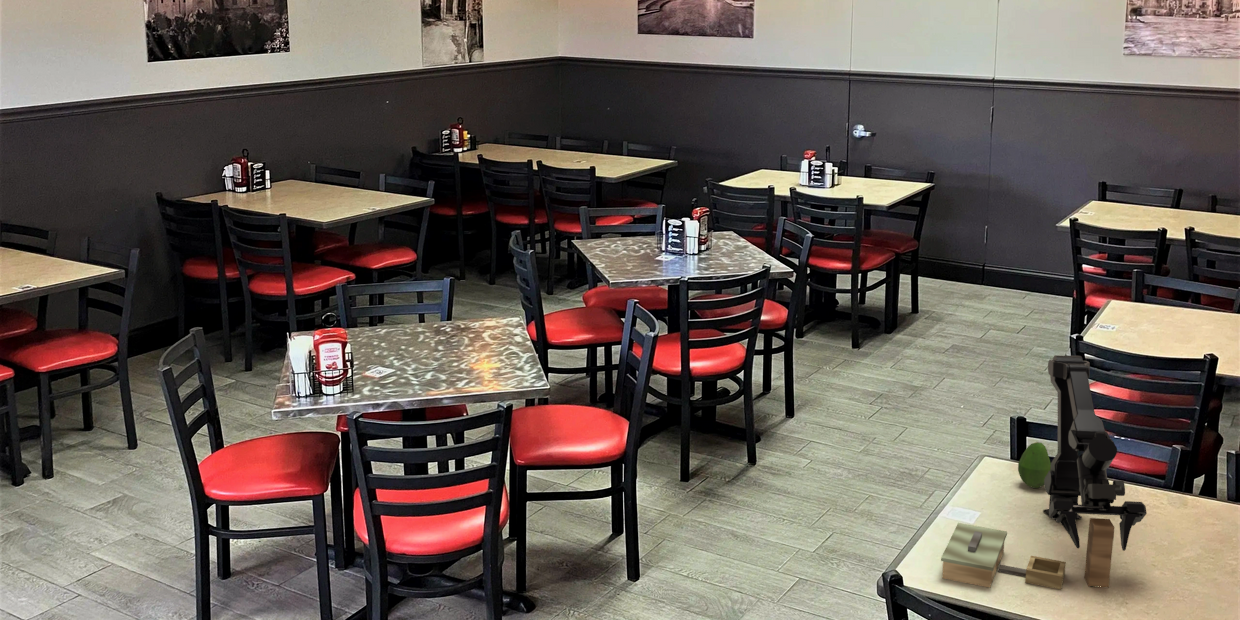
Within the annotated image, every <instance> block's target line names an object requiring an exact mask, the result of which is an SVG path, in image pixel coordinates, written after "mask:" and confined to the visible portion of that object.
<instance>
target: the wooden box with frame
mask: <svg viewBox="0 0 1240 620" xmlns="http://www.w3.org/2000/svg"><path fill="white" fill-rule="evenodd" d="M1007 535H1008V531H1007V530H1001V529H997V528H990V527H986V526H978V525H974V524H970V523H969V524H968V523H962V522H958V523H957V525H956V526H955V529H954V530H953V533H952V535H951V537H950V539H949V541H948V543H947V545H946V547H945V548H944V551H943V553H942V555H941V557H940V562H942V576H941V578H942V579H945V580H949V581H955V582H959V583H965V584H971V585H975V586H980V587H983V588H984V587H985V588H991V586H992V584H993V581H994V578H995V575H996V573H997V572H999V573H1004V574H1009V575H1015V576H1019V577H1024V578H1025V582H1024V583H1026V584H1030V585H1035V586H1036V585H1037V586H1042V587H1045V588H1046V587H1047V588H1051V589H1056V590H1062V587H1063V582H1064V579H1065V575H1066V565H1067V562H1066V561H1064V560H1057V559H1052V558H1046V557H1040V556H1036V555H1030V557H1029V560H1028V563H1027V567H1026V568H1021V567H1015V566H1011V565H1005V564H1000V563H1001V560H1002V557H1003V555H1004V551H1005V541H1006V538H1007Z"/></svg>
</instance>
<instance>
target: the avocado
mask: <svg viewBox="0 0 1240 620" xmlns="http://www.w3.org/2000/svg"><path fill="white" fill-rule="evenodd" d="M1050 459H1051V458H1050V457H1049V453H1048V449H1047V448H1046V445H1045V444H1044V443H1042V442H1039V441H1036V442H1032V443H1030V444H1029V445H1028V446H1027V447H1026V449H1025V450H1024V452H1023V453H1022V454H1021V456H1020V459H1019V460H1018V463H1017V466H1018V467H1017V471H1018V475H1019V477H1020V479H1021V480H1022V482H1023V483H1024V484H1025V485H1026V486H1028V487H1029V488H1032V489H1039V488H1041V487H1044V479H1045V477H1046V475H1047V473H1048V472H1049V471H1050V465H1051V460H1050Z"/></svg>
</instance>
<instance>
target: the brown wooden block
mask: <svg viewBox="0 0 1240 620" xmlns="http://www.w3.org/2000/svg"><path fill="white" fill-rule="evenodd" d="M1088 521H1089V523H1088V533H1087V543H1086V544H1087V545H1086V555H1085V566H1084V573H1083V575H1084V580H1085V582H1086V584H1087V586H1088V587H1089V586H1094V587H1093V588H1096V587H1095V586H1099V587H1098V588H1104V587H1108V588H1110V587H1109V585H1110V576H1111V568H1112V567H1111V566H1112V557H1113V555H1112V554H1113V546H1114V545H1113V544H1114V535H1115V525H1114V524H1113V522H1112V521H1111V519H1110V518H1100V517H1099V518H1096V517H1095V518H1094V517H1089V520H1088ZM1100 586H1101V587H1100Z"/></svg>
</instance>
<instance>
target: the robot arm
mask: <svg viewBox="0 0 1240 620" xmlns="http://www.w3.org/2000/svg"><path fill="white" fill-rule="evenodd" d="M1090 364H1091V363H1090V362H1089V361H1087V360H1083V357H1082V356H1081V355H1053V358H1052V359H1049V360H1048V363H1047V371H1048V372H1047V373H1048V375H1050V377H1049V378H1050V383H1051V385H1052V386H1053V388H1055V391H1056V392H1057V453H1056V454H1055V457H1054V458H1053V459H1052V461H1050V463H1051V465H1050V471H1049V472H1048V473H1047V475H1046V477H1045V479H1044V485H1043V488H1044V489H1045V491H1046V494H1047V495H1048V496H1049V503H1048V508H1046V509H1043V510H1042V512H1043V513H1044V514H1045V515H1047V516H1048V517H1049V519H1052V520H1055V522H1056V523H1060V524H1061V525H1062V527H1063V528H1064V530H1065V531H1066V532H1067V534H1068V535H1069V537H1070V539H1071V540H1072V543H1073V544H1074V546H1075V548H1076V549H1079V548H1080V547H1081V545H1080V537H1079V532H1078V526H1077V520H1082V519H1083V517H1082V516H1081V514H1082V515H1098V516H1099V515H1101V516H1103V515H1105V516H1106V515H1107V516H1119V519H1120V520H1121V521H1120V522H1119V525H1118V526H1119V536H1120V545H1121V550H1122V551H1123V552H1124V551H1126V549H1127V546H1128V542H1129V536H1130V532H1131V529H1132V527H1133V526H1135V525H1136V524H1138V523H1141V521H1142V520H1143V519H1144V517H1146V516H1147V514H1148V513H1147V506H1146V505H1145V504H1144V502H1142V501H1129V500H1125V501H1123V504H1122V505H1120V506H1119V505H1112V504H1113V503H1114V502H1115V501H1114V500H1117V497H1124V496H1125V495H1126V486H1125V485H1126V484H1125V481H1124V480H1113V481H1112V484H1110V480H1109V478H1108V476H1107V469H1109V467H1110V466H1111V464H1112V462H1113V461H1114V459H1115V457H1116V456H1117V454H1118V448H1117V447H1118V446H1116V444H1115V442H1114V441H1113V439H1112V438H1111V437H1110V435H1109V434H1108V432H1107V430H1106V429H1105V426H1104V423H1103V420H1102V419H1101V418H1100V417H1098V416H1097V415H1096V413H1095V408H1094V403H1093V397H1092V392H1091V386H1090V382H1089V381H1090V380H1089V379H1090V370H1091V369H1090V367H1091V365H1090ZM1079 452H1083V453H1082V454H1080V455H1079ZM1079 497H1080V501H1081V504H1079Z"/></svg>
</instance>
